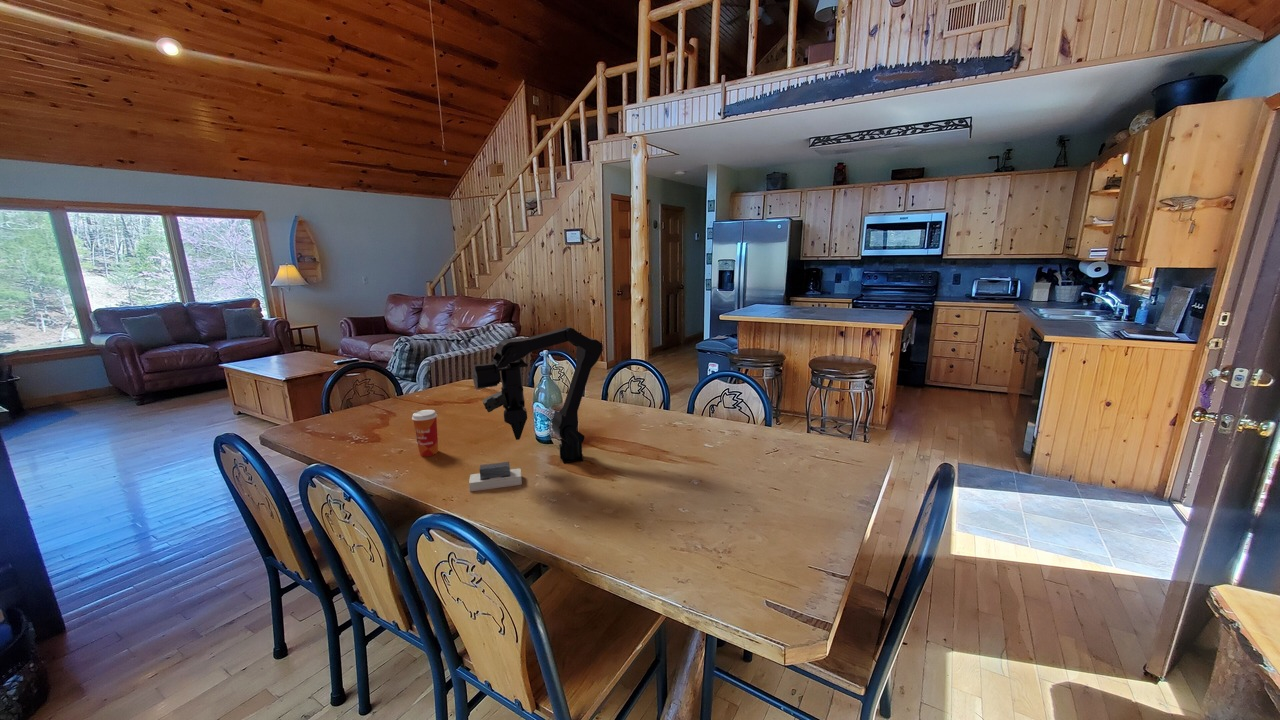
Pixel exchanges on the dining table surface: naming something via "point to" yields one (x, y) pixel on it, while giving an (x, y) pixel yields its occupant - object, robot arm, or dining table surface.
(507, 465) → the dark grey blocky piece
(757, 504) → the dining table surface
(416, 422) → the paper cup
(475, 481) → the rail
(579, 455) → the robot arm
